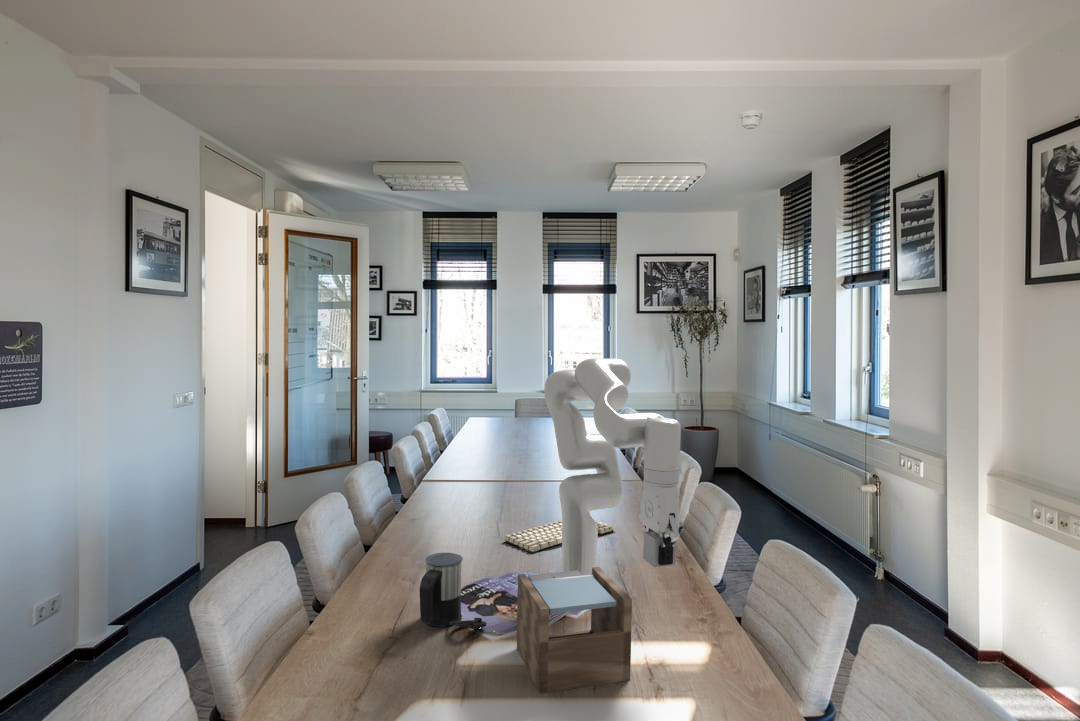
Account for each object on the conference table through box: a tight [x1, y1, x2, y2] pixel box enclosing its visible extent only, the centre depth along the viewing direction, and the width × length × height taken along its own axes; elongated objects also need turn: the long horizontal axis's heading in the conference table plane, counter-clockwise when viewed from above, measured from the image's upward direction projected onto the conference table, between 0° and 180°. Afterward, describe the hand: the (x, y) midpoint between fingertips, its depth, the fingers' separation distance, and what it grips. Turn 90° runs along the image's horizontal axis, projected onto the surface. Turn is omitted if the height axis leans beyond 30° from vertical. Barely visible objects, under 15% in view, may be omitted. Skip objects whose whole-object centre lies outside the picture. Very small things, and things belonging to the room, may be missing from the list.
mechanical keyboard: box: [502, 519, 616, 557], centre depth 215 cm, size 38×19×3 cm, turn 133°
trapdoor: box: [527, 570, 616, 615], centre depth 135 cm, size 20×15×6 cm
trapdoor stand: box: [516, 566, 633, 694], centre depth 132 cm, size 18×19×16 cm
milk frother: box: [419, 552, 487, 630], centre depth 149 cm, size 14×16×15 cm
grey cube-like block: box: [642, 531, 677, 568], centre depth 135 cm, size 5×5×6 cm
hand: (658, 558), depth 136 cm, fingers closed on grey cube-like block, 5 cm apart
